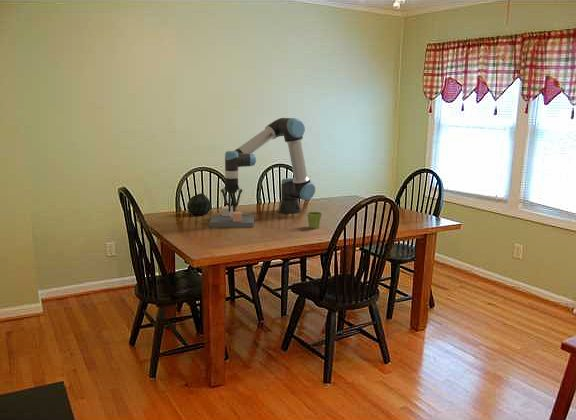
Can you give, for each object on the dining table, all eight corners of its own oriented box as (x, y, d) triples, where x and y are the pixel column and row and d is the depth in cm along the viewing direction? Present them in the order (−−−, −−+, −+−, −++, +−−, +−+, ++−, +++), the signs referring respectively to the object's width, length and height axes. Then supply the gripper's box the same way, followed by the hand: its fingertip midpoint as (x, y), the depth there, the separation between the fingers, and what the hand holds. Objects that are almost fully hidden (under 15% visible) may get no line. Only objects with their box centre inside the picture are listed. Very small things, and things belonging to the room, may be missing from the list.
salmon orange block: (241, 219, 304) (241, 211, 303) (241, 221, 298) (241, 213, 297) (233, 219, 303) (233, 211, 302) (232, 221, 297) (232, 213, 296)
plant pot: (311, 229, 295) (311, 215, 293) (303, 226, 303) (303, 212, 301) (324, 228, 299) (325, 214, 297) (316, 225, 307) (317, 211, 305)
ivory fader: (230, 214, 318) (230, 206, 317) (230, 216, 312) (230, 208, 311) (222, 214, 317) (222, 206, 316) (222, 216, 312) (221, 208, 311)
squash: (184, 204, 337) (188, 189, 326) (206, 203, 343) (210, 189, 332) (187, 221, 329) (191, 207, 318) (210, 220, 335) (214, 206, 324)
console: (254, 218, 321) (254, 213, 321) (253, 227, 298) (253, 222, 297) (212, 218, 320) (212, 213, 319) (209, 227, 296) (209, 222, 296)
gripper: (243, 176, 299) (243, 215, 304) (220, 176, 298) (221, 215, 303) (242, 178, 292) (242, 218, 297) (219, 178, 291) (220, 218, 296)
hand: (231, 216), depth 300 cm, fingers closed
